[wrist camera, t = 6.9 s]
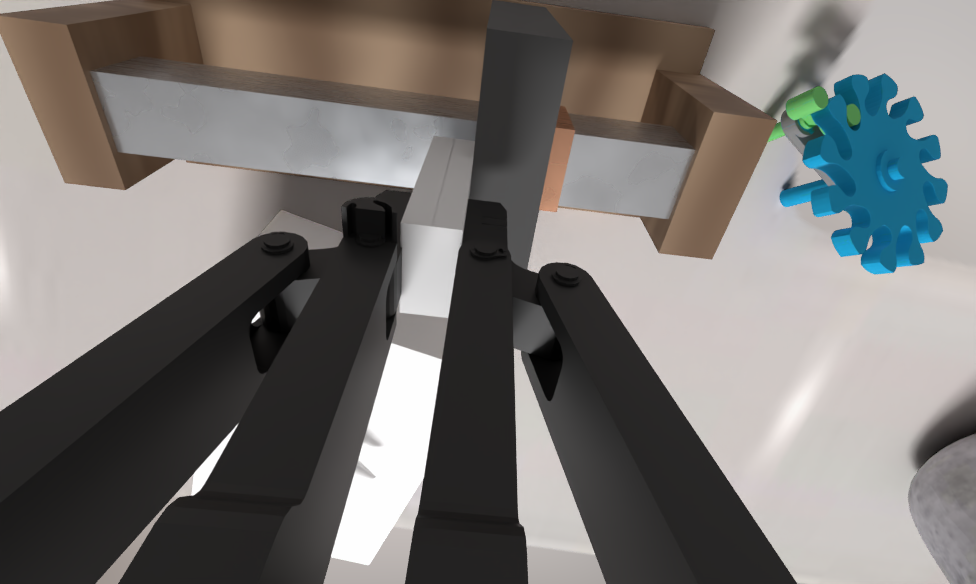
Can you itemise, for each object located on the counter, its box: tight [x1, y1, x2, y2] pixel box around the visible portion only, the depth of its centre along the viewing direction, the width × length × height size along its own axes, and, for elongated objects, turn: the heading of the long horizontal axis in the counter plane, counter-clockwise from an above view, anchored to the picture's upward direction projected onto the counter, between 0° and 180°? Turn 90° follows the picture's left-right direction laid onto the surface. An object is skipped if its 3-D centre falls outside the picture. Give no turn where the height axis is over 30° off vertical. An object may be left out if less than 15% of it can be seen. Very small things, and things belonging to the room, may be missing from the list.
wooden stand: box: [0, 0, 777, 259], centre depth 22 cm, size 27×10×9 cm, turn 83°
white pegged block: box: [191, 210, 448, 565], centre depth 34 cm, size 14×25×11 cm, turn 156°
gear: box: [768, 73, 948, 274], centre depth 25 cm, size 11×6×10 cm
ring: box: [469, 0, 573, 270], centre depth 20 cm, size 2×10×10 cm, turn 173°
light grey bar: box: [90, 56, 695, 219], centre depth 20 cm, size 25×3×3 cm, turn 83°
